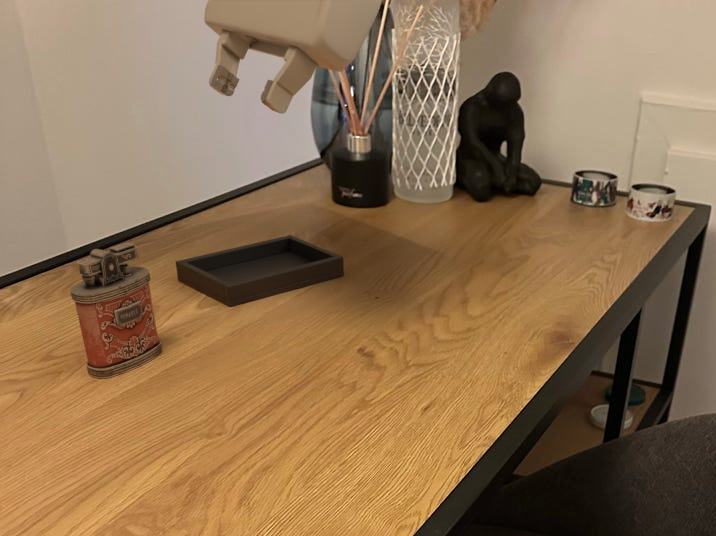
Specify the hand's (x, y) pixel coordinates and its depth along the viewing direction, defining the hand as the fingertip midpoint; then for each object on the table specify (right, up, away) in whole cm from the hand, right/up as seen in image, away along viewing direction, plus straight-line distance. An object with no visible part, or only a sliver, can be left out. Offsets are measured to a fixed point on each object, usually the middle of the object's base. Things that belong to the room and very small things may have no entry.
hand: (244, 99), depth 80 cm
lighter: (-12, -21, +6) cm, 25 cm away
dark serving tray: (-4, -6, +25) cm, 26 cm away
